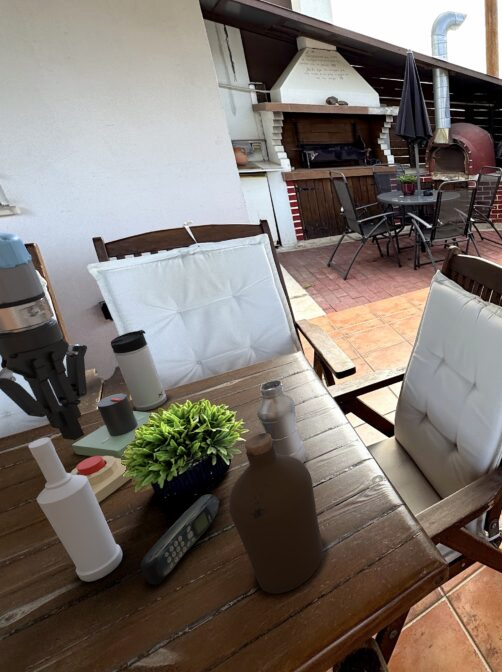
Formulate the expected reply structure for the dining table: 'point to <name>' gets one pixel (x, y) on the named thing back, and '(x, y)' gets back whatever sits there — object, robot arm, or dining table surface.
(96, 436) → the control panel
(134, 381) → the travel mug
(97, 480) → the button block
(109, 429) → the timer dial
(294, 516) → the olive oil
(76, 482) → the bottle
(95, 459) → the power button
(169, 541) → the mobile phone
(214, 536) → the dining table surface
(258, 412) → the plastic bottle
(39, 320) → the robot arm
